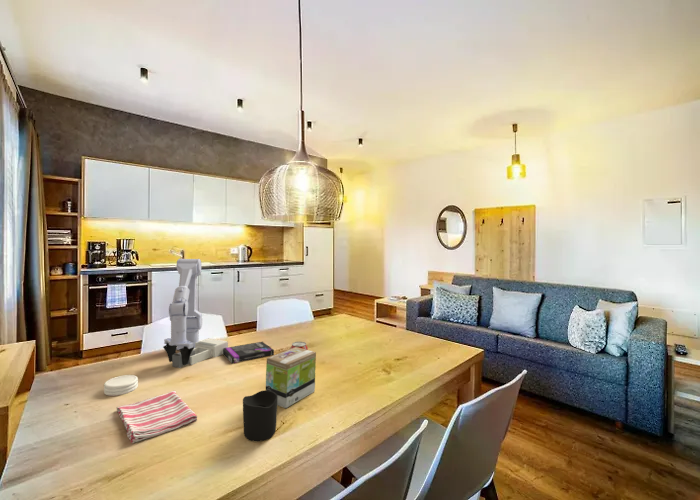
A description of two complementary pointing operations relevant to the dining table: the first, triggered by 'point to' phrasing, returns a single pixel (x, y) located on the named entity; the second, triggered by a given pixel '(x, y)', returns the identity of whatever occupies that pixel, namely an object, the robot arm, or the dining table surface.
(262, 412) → the pen holder
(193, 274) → the robot arm
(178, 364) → the grey tapered block
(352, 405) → the dining table surface
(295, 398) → the tea box
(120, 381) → the coaster
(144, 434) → the dish towel
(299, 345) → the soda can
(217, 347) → the stand
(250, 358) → the box
